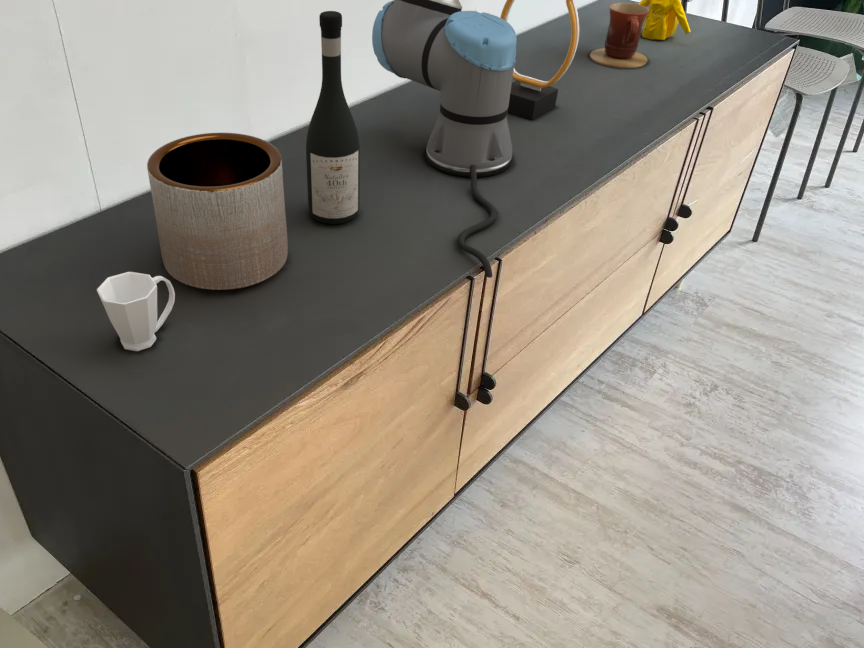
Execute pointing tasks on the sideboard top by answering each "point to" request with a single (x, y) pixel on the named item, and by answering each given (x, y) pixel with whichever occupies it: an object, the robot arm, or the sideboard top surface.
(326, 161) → the wine bottle
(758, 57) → the sideboard top surface
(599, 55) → the tan round disc
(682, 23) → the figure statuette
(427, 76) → the robot arm
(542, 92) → the lamp
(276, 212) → the planter
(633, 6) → the mug
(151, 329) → the cup
